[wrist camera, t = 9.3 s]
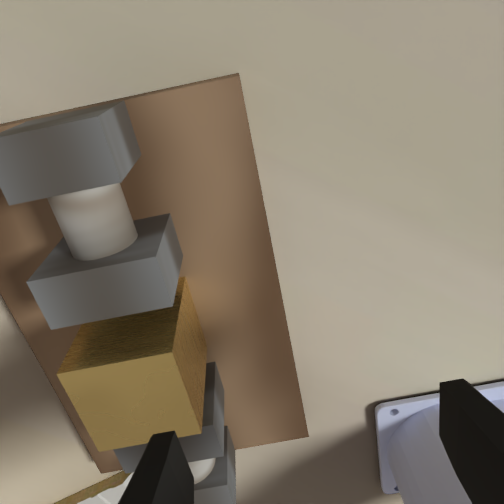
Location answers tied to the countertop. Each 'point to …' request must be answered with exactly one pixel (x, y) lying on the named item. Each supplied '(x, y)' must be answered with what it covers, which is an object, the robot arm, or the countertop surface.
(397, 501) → the countertop surface
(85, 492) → the baseboard molding
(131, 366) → the block
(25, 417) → the countertop surface
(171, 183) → the shaft base
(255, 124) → the countertop surface
